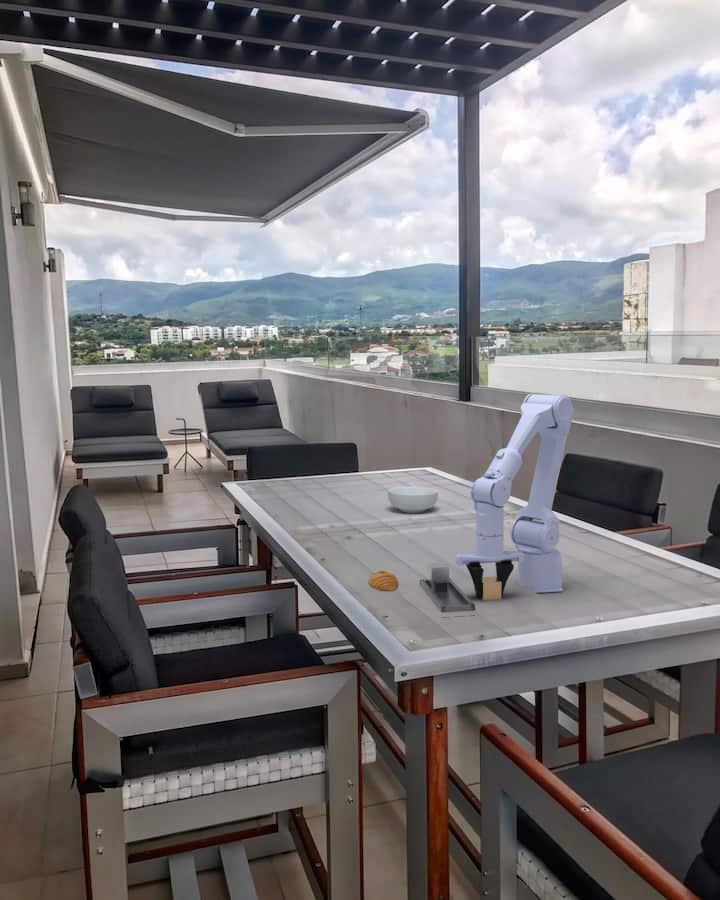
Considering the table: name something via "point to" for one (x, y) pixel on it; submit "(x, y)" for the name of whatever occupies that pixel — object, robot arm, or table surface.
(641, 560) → the table surface
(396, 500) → the cereal bowl
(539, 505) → the robot arm
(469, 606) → the tray
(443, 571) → the steel block
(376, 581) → the pastry
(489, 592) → the wooden block with cap
